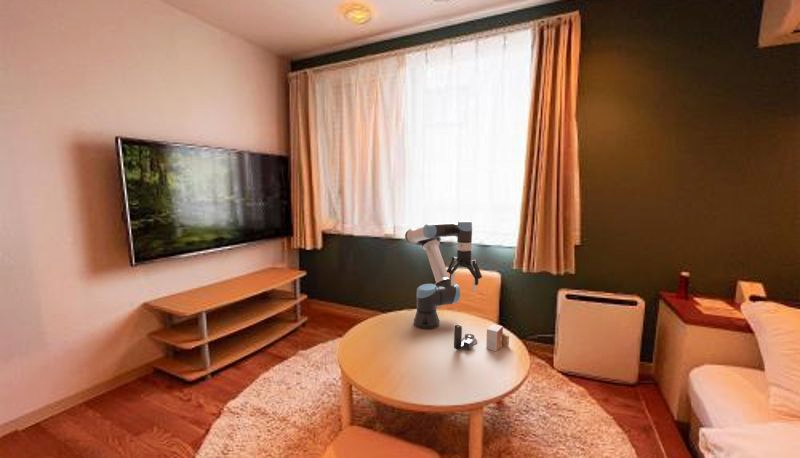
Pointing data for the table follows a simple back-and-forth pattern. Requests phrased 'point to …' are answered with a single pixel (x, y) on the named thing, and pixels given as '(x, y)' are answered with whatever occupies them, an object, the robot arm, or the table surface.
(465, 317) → the table surface
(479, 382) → the table surface
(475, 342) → the pivot disc
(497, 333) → the small box
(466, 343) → the lever
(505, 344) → the backstop
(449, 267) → the robot arm
